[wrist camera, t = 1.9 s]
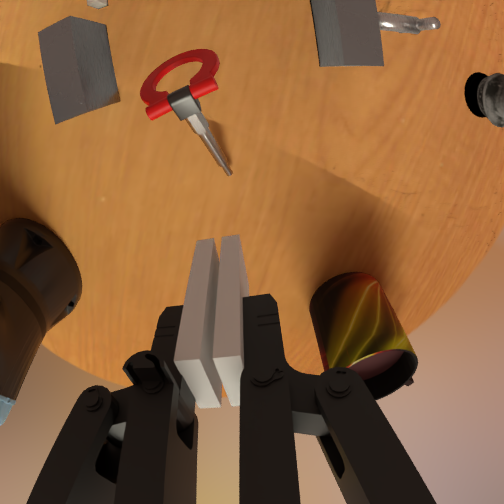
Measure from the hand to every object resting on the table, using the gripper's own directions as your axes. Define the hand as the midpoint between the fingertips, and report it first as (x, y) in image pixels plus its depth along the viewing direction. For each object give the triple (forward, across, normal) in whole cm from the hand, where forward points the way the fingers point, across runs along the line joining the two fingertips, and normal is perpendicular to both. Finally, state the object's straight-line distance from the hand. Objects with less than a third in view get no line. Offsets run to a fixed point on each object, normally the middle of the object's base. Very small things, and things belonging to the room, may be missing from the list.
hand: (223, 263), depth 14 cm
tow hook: (+19, -2, +7) cm, 20 cm away
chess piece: (+17, +28, +6) cm, 33 cm away
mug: (+17, +13, -20) cm, 29 cm away
